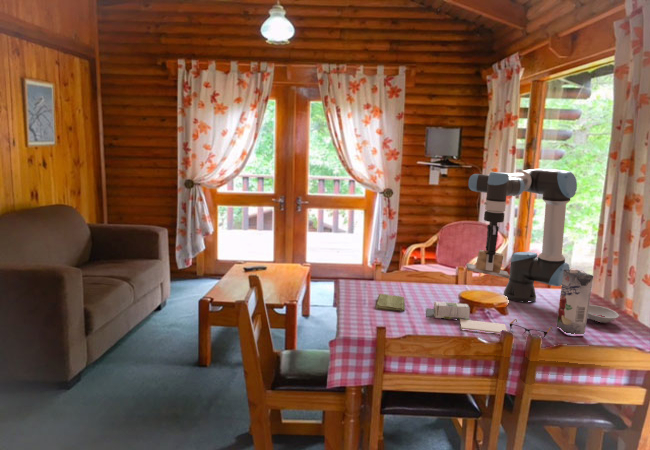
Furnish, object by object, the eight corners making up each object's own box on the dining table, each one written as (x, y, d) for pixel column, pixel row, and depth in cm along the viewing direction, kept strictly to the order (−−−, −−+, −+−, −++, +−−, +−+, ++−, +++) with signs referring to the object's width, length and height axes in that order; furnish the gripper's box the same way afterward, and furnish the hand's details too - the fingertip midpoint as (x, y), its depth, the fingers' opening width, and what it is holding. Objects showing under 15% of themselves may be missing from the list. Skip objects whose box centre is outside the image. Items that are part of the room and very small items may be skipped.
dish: (572, 314, 235) (574, 303, 234) (605, 316, 234) (606, 305, 233) (589, 328, 217) (591, 316, 216) (624, 330, 216) (626, 319, 216)
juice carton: (574, 328, 216) (582, 266, 211) (587, 338, 205) (596, 272, 201) (553, 327, 215) (561, 265, 211) (565, 337, 205) (574, 272, 200)
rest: (504, 326, 213) (504, 324, 213) (507, 335, 204) (508, 332, 204) (459, 321, 217) (460, 319, 217) (461, 330, 207) (461, 327, 207)
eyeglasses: (507, 333, 208) (509, 323, 207) (516, 323, 220) (517, 314, 219) (545, 342, 200) (546, 332, 199) (552, 331, 212) (553, 322, 211)
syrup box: (466, 316, 223) (432, 314, 224) (467, 303, 223) (433, 301, 224) (469, 320, 218) (434, 318, 219) (470, 307, 217) (435, 305, 218)
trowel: (506, 273, 209) (510, 254, 208) (508, 278, 202) (513, 258, 200) (466, 265, 212) (470, 246, 211) (467, 270, 205) (471, 250, 203)
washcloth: (375, 310, 227) (375, 303, 227) (377, 298, 244) (378, 292, 244) (405, 313, 225) (405, 306, 225) (405, 301, 242) (406, 295, 242)
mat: (463, 312, 229) (463, 312, 229) (464, 321, 218) (464, 320, 218) (426, 308, 232) (426, 308, 232) (426, 316, 221) (426, 316, 221)
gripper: (483, 208, 212) (477, 263, 216) (486, 213, 195) (480, 272, 199) (501, 209, 211) (495, 264, 214) (507, 215, 194) (500, 275, 197)
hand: (488, 268), depth 207 cm, fingers closed on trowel, 4 cm apart
